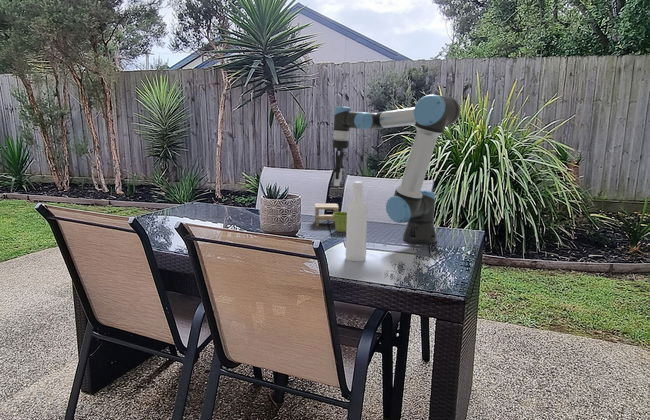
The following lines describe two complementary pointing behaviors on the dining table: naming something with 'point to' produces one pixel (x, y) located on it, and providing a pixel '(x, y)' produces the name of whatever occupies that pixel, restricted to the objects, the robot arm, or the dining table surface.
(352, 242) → the bottle
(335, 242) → the dining table surface
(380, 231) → the dining table surface
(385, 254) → the dining table surface
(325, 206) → the plant stand
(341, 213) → the plant pot
